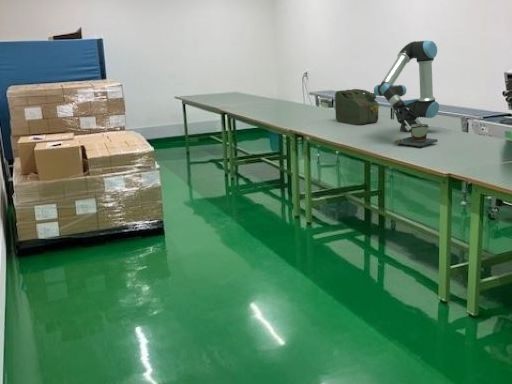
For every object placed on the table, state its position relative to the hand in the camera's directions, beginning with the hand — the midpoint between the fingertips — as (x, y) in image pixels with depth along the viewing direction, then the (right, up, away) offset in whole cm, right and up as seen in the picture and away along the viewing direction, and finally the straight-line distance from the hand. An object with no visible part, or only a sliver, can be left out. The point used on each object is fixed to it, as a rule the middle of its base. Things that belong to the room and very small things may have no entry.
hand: (416, 127), depth 345 cm
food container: (+1, -8, +3) cm, 8 cm away
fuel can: (-17, +18, +111) cm, 114 cm away
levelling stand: (+1, -10, +3) cm, 11 cm away
